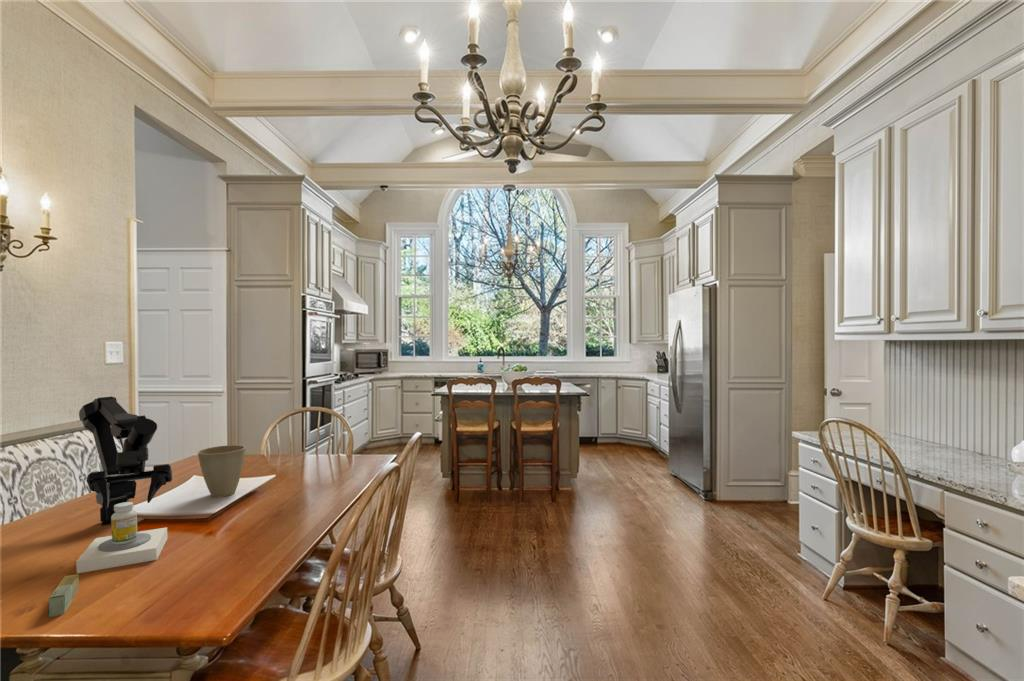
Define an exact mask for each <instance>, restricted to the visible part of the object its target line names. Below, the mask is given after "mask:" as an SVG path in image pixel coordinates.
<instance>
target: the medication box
mask: <svg viewBox="0 0 1024 681" xmlns="http://www.w3.org/2000/svg"><path fill="white" fill-rule="evenodd" d="M79 574H80V573H76V574H72V575H71V574H70V575H65V576H63V578H62V579H61V581H59V584H58V585H57V586H56V588H55V590H54V591H53V593H52V594H51V595H50V597H49V598H48V604H47V605H48V606H47V608H48V609H47V618H53V617H58V616H62V615H64V614H65V613H66V612H67V610H68V608H69V606H70V605H71V603H72V601H73V600H74V598H75V597H76V595H77V593H78V591H79V587H80V586H79V584H80V583H79V582H80V581H79V580H80V577H79V576H80V575H79ZM74 596H75V597H74Z"/></svg>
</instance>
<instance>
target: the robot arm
mask: <svg viewBox="0 0 1024 681" xmlns="http://www.w3.org/2000/svg"><path fill="white" fill-rule="evenodd" d="M78 412H79V413H78V416H79V420H80V421H81V422H82V425H83V427H84V429H85V430H88V431H89V432H91V433H92V436H93V439H94V442H95V446H96V450H97V453H98V457H99V462H100V464H101V468H102V470H101V471H91V472H89V474H87V477H86V484H87V485H88V487H89V491H91V492H95V493H96V495H95V501H96V504H97V505H100V506H101V508H100V509H99V516H100V518H99V519H100V522H101V523H100V525H101V526H107V525H111V516H112V515H113V514H114V513H116V512H115V511H114V505H116V504H119V503H123V502H130V499H135V496H136V492H137V491H136V489H137V481H140V480H148V479H150V484H149V489H148V494H147V499H146V500H147V503H148V504H150V503H151V501H152V500H153V498H154V497H155V495H156V494H157V492H158V491H159V490H160V489H161V488H162V486H166V485H167V483H170V482H172V481H173V470H172V467H171V465H170V463H164V464H163V463H162V464H154V465H153V467H152V468H153V469H152V470H148V471H147V470H146V461H149V448H148V444H150V443H151V442H152V440H153V437H154V435H155V433H156V431H157V430H158V424H157V422H155V420H152V419H151V418H148V417H147V416H146V415H145V414H144V415H137V414H133V413H128V412H127V411H126V409H124V408H123V406H121V404H120V403H119V402H118V401H117V398H116V397H115V396H101V397H97V398H95V399H94V400H93V401H91V402H88V403H86V404H84V405H82V407H81V408H80V409H79V411H78ZM114 438H115V439H116V440H122V439H123V445H122V451H120V452H119V451H118V449H117V444H116V441H115V439H114ZM145 470H146V471H145Z"/></svg>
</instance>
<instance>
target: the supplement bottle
mask: <svg viewBox="0 0 1024 681" xmlns="http://www.w3.org/2000/svg"><path fill="white" fill-rule="evenodd" d="M114 511H115V512H116V513H114V514H113V515H112V516H111V524H110V526H111V536H112V543H113V544H115V545H122V544H127V543H131V542H133V541H135V540H136V539H137V537H138V534H137V532H138V513H137V511H136V510H135V509H134V502H132V501H129V502H123V503H119V504H116V505H114Z"/></svg>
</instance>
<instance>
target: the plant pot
mask: <svg viewBox="0 0 1024 681" xmlns="http://www.w3.org/2000/svg"><path fill="white" fill-rule="evenodd" d="M245 454H246V446H245V445H243V444H241V445H240V444H228V445H217V446H213V447H207V448H203V449H200V450H198V451H197V457H198V462H199V467H200V470H201V473H202V476H203V480H204V482H205V485H206V487H207V490H208V492H209V493H210V496H211V497H213V498H220V497H229V496H231V495H233V494H235V493H236V491H237V487H238V485H239V482H240V479H241V476H242V470H243V466H244V461H245Z"/></svg>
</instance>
